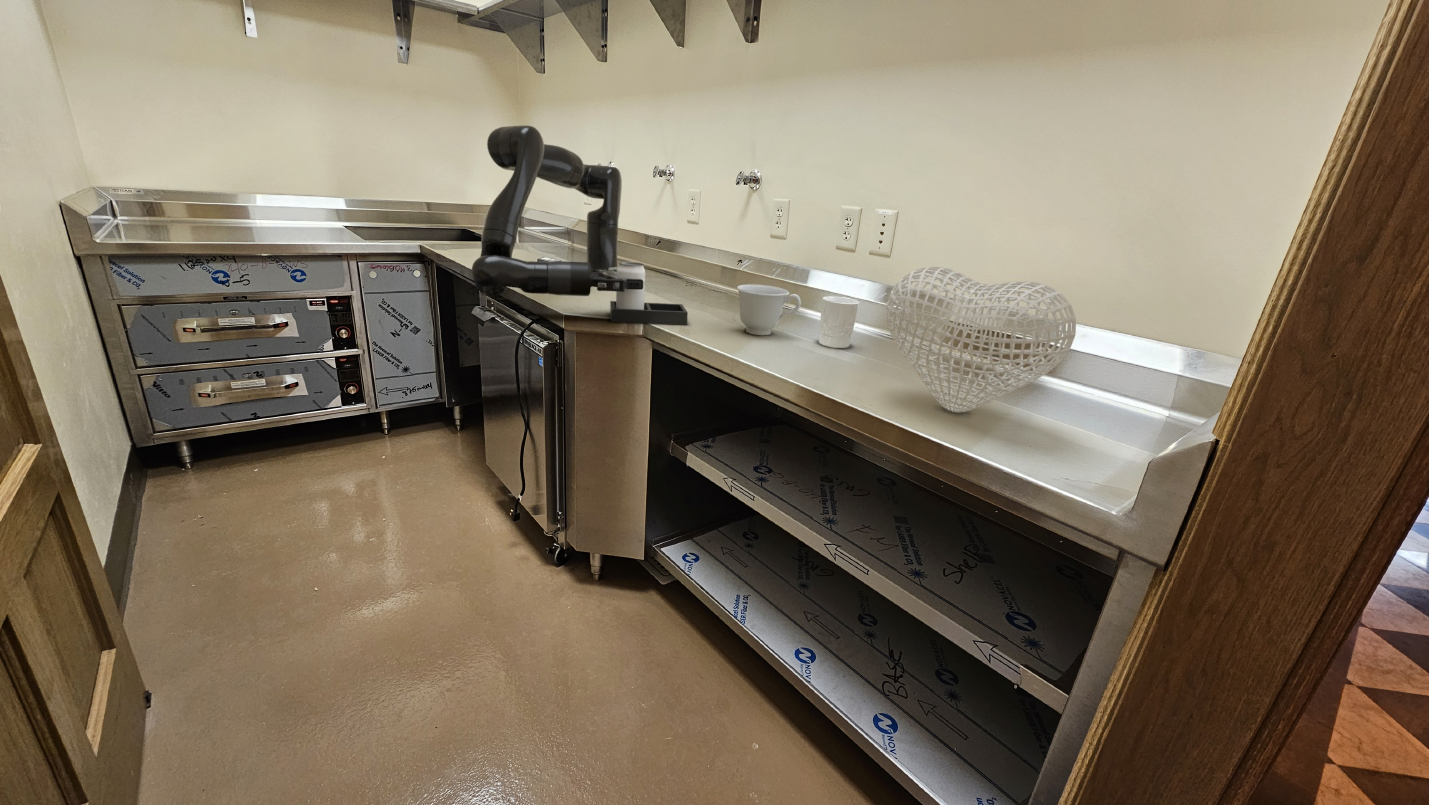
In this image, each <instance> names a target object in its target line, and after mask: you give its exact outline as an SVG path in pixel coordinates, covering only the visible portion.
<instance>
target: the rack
mask: <svg viewBox="0 0 1429 805" xmlns="http://www.w3.org/2000/svg"><path fill="white" fill-rule="evenodd" d="M609 304H610V305H609V315H610V322H611V323H623V324H624V323H625V324H650V325H651V324H652V325H677V326H678V325H679V326H680V325H681V326H688V314H689V313H688V311H687V309H686V307H685V306H684V305H683V303H665V302H664V303H663V302H644V310H637V309H616V300H610V302H609Z"/></svg>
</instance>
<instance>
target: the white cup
mask: <svg viewBox="0 0 1429 805" xmlns="http://www.w3.org/2000/svg"><path fill="white" fill-rule="evenodd" d="M859 305H860V301H859V300H857V299H853V298H849V297H843V296H831V295H829V296H823V297H822V301H821V311H820V319H819V338H818V343H819V344H820V345H821V346H824V347H827V348H834V349H846V348H847V349H848V348H849V347H850V345H851V340H852V335H853V332H854V328H855V323H856V319H857V314H858V311H859Z"/></svg>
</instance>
